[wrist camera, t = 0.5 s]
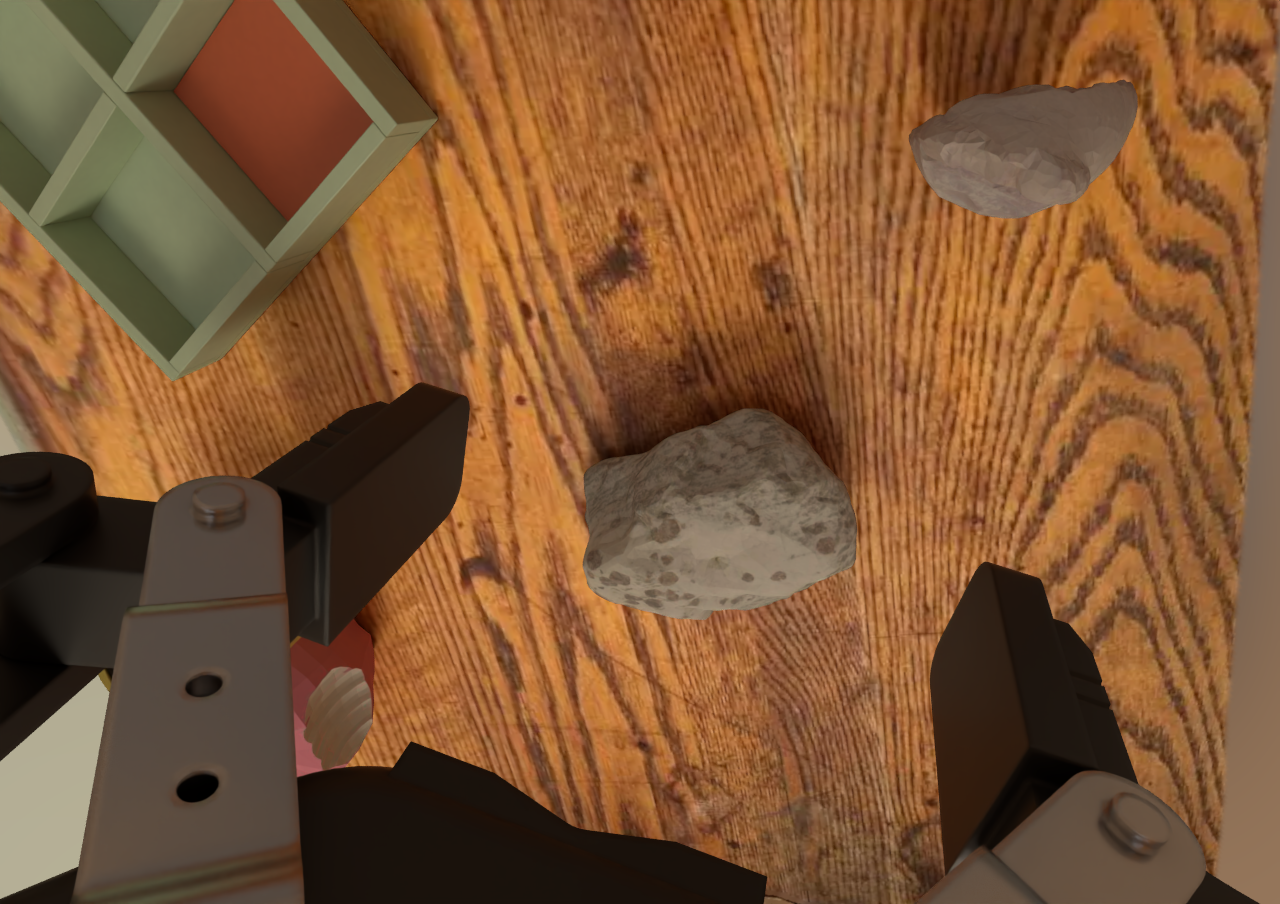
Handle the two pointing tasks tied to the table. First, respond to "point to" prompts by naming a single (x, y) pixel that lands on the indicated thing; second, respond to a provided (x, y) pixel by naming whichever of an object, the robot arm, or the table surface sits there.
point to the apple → (332, 698)
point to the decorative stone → (716, 519)
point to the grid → (193, 151)
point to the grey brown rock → (1024, 146)
